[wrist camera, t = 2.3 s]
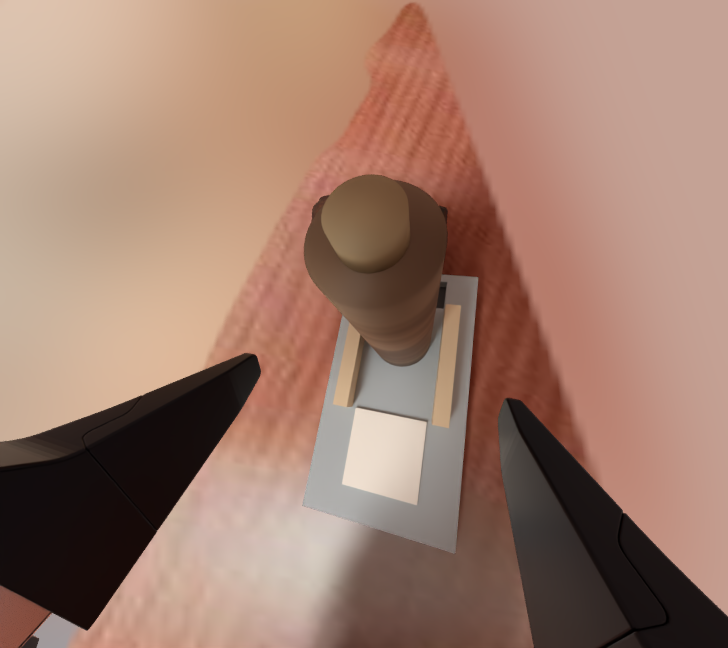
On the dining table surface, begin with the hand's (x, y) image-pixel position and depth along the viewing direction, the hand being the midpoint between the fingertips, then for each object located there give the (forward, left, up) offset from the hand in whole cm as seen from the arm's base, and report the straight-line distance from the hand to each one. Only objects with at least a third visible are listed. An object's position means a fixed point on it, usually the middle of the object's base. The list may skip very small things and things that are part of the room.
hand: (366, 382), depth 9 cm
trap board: (0, 0, -11) cm, 11 cm away
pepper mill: (+4, 0, -10) cm, 11 cm away
